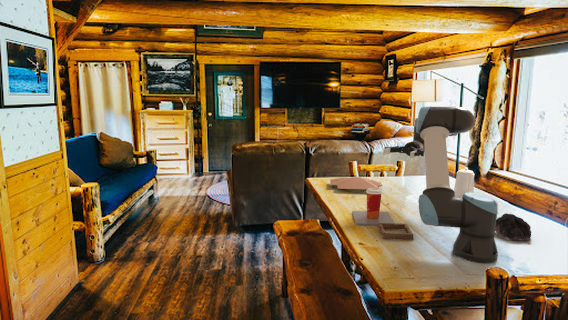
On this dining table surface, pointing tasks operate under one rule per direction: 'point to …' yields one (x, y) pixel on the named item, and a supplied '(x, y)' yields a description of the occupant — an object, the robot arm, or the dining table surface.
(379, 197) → the paper cup
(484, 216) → the robot arm
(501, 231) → the dark brown lumpy mound
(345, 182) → the house
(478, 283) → the dining table surface
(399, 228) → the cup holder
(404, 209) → the dining table surface
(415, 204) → the dining table surface
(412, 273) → the dining table surface
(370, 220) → the slate tile
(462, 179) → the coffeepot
